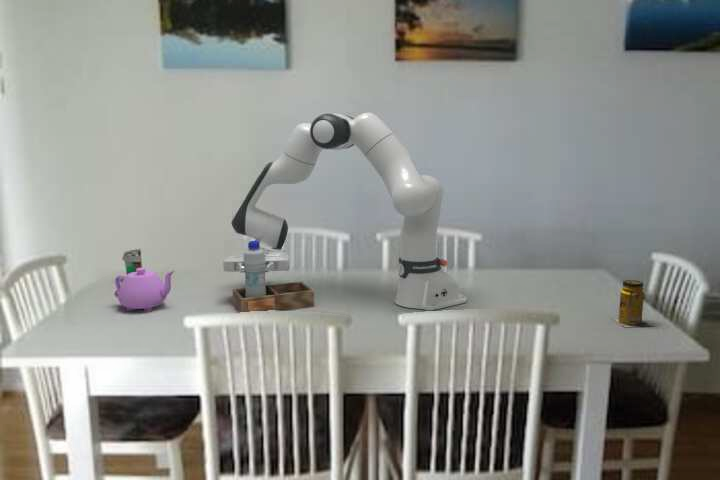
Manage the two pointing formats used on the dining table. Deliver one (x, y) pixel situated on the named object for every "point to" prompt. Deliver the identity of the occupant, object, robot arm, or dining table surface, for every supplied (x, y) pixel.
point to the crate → (276, 298)
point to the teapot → (142, 289)
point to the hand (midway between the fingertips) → (254, 269)
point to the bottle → (254, 270)
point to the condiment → (631, 305)
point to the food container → (132, 260)
